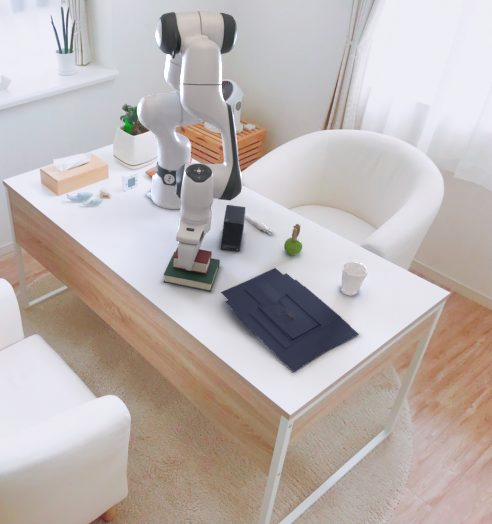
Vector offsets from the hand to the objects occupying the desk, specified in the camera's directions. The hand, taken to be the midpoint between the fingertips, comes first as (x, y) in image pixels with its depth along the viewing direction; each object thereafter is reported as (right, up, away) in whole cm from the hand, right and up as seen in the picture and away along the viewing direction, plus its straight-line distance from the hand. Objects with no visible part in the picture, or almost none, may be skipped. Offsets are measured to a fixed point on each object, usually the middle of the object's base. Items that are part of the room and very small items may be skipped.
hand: (192, 261), depth 168 cm
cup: (+45, -8, -2) cm, 46 cm away
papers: (+24, -16, -13) cm, 31 cm away
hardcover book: (0, -4, +2) cm, 5 cm away
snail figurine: (+32, +2, +11) cm, 34 cm away
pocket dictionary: (0, -1, +1) cm, 1 cm away
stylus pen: (+23, +12, +25) cm, 36 cm away
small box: (+14, +6, +17) cm, 23 cm away
